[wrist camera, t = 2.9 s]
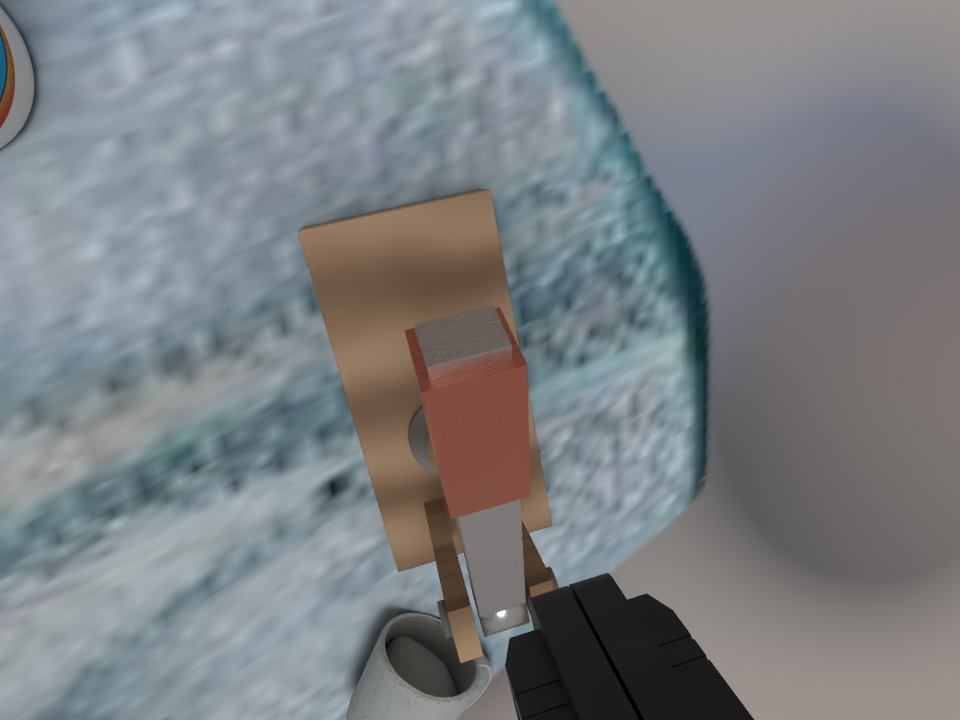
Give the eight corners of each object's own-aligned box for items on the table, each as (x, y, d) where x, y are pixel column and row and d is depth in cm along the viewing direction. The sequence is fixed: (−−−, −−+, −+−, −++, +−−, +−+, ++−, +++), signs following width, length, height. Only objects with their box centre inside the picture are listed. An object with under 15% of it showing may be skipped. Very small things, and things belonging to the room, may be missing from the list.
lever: (502, 532, 35) (535, 628, 31) (454, 546, 34) (480, 646, 30) (472, 238, 20) (528, 355, 16) (384, 258, 19) (419, 383, 15)
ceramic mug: (339, 690, 45) (338, 787, 37) (378, 602, 43) (384, 686, 36) (464, 709, 48) (485, 802, 41) (504, 628, 46) (533, 710, 39)
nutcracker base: (539, 503, 43) (615, 634, 31) (395, 546, 42) (412, 701, 29) (479, 189, 36) (546, 190, 23) (302, 227, 35) (271, 251, 22)
